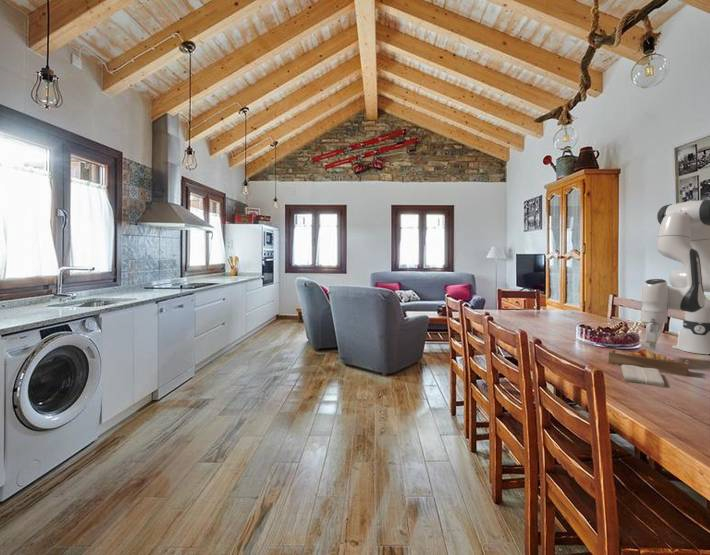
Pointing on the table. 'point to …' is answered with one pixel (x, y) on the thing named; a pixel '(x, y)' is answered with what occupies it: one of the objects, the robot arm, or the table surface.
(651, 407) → the table surface
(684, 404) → the table surface
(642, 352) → the croissant
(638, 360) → the frame
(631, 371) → the washcloth
